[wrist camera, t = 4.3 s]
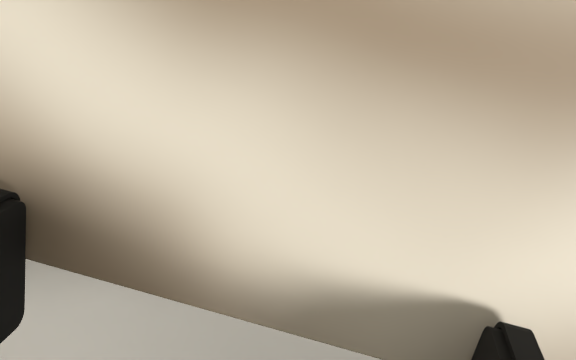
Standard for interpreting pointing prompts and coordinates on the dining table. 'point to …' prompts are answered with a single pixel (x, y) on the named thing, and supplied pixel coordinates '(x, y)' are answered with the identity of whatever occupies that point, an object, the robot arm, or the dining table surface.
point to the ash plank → (306, 161)
